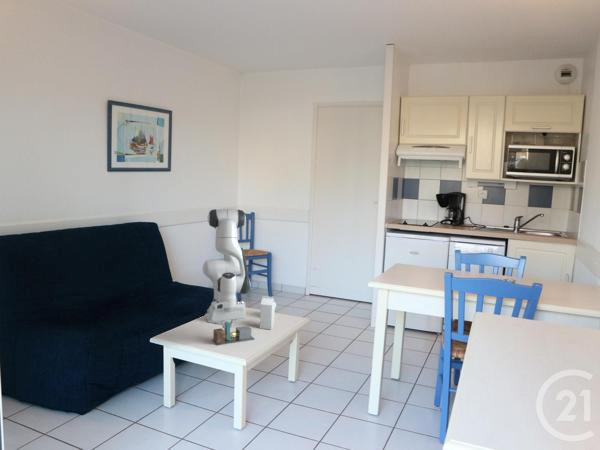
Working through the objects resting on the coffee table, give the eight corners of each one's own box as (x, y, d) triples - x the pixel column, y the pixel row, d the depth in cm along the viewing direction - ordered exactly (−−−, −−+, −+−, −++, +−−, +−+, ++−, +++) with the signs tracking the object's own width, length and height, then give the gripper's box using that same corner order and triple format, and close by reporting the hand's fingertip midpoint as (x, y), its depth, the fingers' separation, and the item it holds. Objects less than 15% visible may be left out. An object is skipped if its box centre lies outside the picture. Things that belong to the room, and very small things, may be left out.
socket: (221, 339, 265) (221, 328, 264) (225, 343, 260) (225, 331, 259) (213, 340, 263) (213, 329, 262) (217, 344, 257) (217, 332, 257)
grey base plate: (248, 335, 274) (249, 324, 273) (254, 339, 267) (254, 329, 267) (211, 340, 263) (212, 329, 262) (216, 345, 256) (217, 334, 256)
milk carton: (271, 329, 285) (272, 298, 282) (259, 328, 286) (260, 297, 284) (274, 326, 291) (275, 295, 289) (262, 324, 293) (264, 294, 291)
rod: (241, 335, 269) (242, 319, 268) (244, 337, 266) (244, 321, 265) (219, 339, 263) (220, 322, 262) (222, 341, 260) (222, 324, 259)
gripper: (243, 299, 269) (242, 323, 270) (208, 303, 259) (207, 328, 260) (247, 302, 263) (247, 326, 265) (212, 306, 253) (211, 331, 255)
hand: (227, 327), depth 262 cm, fingers closed on rod, 2 cm apart
